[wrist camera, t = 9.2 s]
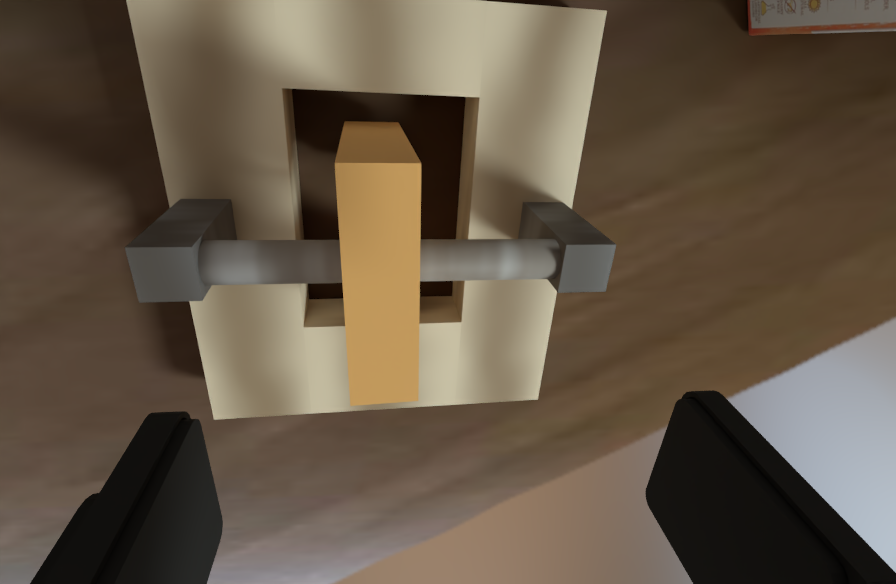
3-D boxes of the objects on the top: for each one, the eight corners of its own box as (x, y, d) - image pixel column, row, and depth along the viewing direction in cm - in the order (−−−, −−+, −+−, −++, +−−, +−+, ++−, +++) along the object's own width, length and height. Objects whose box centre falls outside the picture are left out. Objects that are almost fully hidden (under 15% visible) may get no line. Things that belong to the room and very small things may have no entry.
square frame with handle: (577, 14, 22) (687, 0, 15) (522, 369, 31) (573, 471, 24) (152, -20, 19) (22, -58, 12) (227, 384, 28) (180, 507, 21)
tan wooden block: (398, 122, 22) (421, 163, 14) (399, 288, 26) (418, 400, 17) (344, 121, 22) (334, 162, 13) (353, 290, 25) (350, 405, 17)
